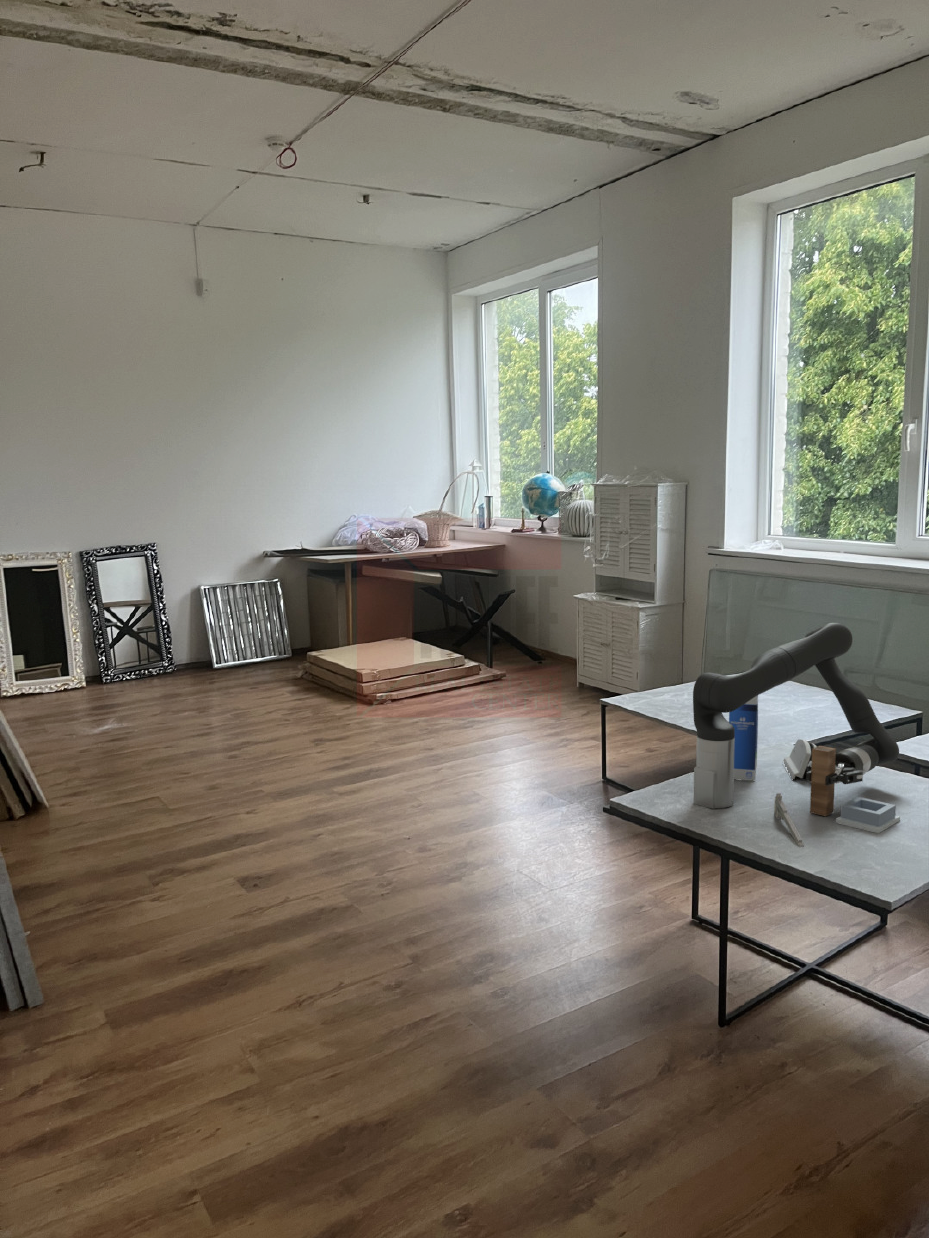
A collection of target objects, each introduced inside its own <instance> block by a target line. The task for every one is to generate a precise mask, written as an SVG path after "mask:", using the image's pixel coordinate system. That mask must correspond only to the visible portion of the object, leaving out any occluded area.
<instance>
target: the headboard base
mask: <svg viewBox="0 0 929 1238" xmlns="http://www.w3.org/2000/svg"><path fill="white" fill-rule="evenodd" d="M840 807H841V808H840V816H838V817H837V818H835V823H836V824H839V825H844V826H847V827H851V828H856V829H860V830H863V831H867V832H871V833H875V834H881V832H883V831H885V830H886V829H888V828H890V827H892V826H893V825H894V824H896V823H898V822H899V821H901V816H899V815H896V811H897V805H896V804H892V803H889V802H888V803H887V802H883V801H879V800H874V799H871V798H866V797H862V796H856V797H854V798H852V799H851V800H849V801H847V802H845V803H843V804H841V806H840Z"/></svg>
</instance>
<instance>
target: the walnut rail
mask: <svg viewBox="0 0 929 1238" xmlns="http://www.w3.org/2000/svg"><path fill="white" fill-rule="evenodd" d="M836 750H837V749H836V748H834V747H828V746H823V745H818V746H817V747H815V748H813V749H812V767H811V772H812V774H811V781H810V802H809V803H810V805H809V806H810V807H809V813H811V814H815V815H819V816H822V817H823V816H824V817H827V816H830V815H832V814H833V813H834V811H835V810H834V809H835V808H834V807H835V785H836V783H834V784H831V785H829V786H828V785H825V778H826V776H828V775H830V774H832V773H834V774H835V756H836V753H837V752H836Z"/></svg>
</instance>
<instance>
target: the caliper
mask: <svg viewBox="0 0 929 1238" xmlns="http://www.w3.org/2000/svg"><path fill="white" fill-rule="evenodd" d="M773 810H774V811H773V812H774V814H773V815H774V817H776V819H777V820H778V819H781V821H784V822H785V825H786V827H787V829H788V830H789V832H790V835H791V836H792V838H793V841H795V843H796V844H797V845H798V847H799V848H800V847H801V848H803V847H805V844H804V842H803V838H802V837H801V835H800V833H799V831H798V829H797V828H796V825H795V824H794V822H793V820H792V817H791V816H790V814H789V813H788V809H787V807H786V805H785V803H784V802H783V796H782V793H778V792H777V793H776V795H775V797H774V809H773Z"/></svg>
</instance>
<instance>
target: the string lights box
mask: <svg viewBox="0 0 929 1238" xmlns="http://www.w3.org/2000/svg"><path fill="white" fill-rule="evenodd" d="M728 722H729V723H730V724H732V725H733V727H734V729H735V737H734V738H735V742H734V779H741V780H740V781H742V780H755V781H756V773H757V766H758V739H759V738H758V737H759V736H758V735H759V734H758V731H759V730H758V729H759V695H758V696H756V697H754V698H753V699H751V700H750V701H748V702H747V703H745V704H744V705H742V706H741V707H739V708H738V709H736V710H734V711H732V712H728Z"/></svg>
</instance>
